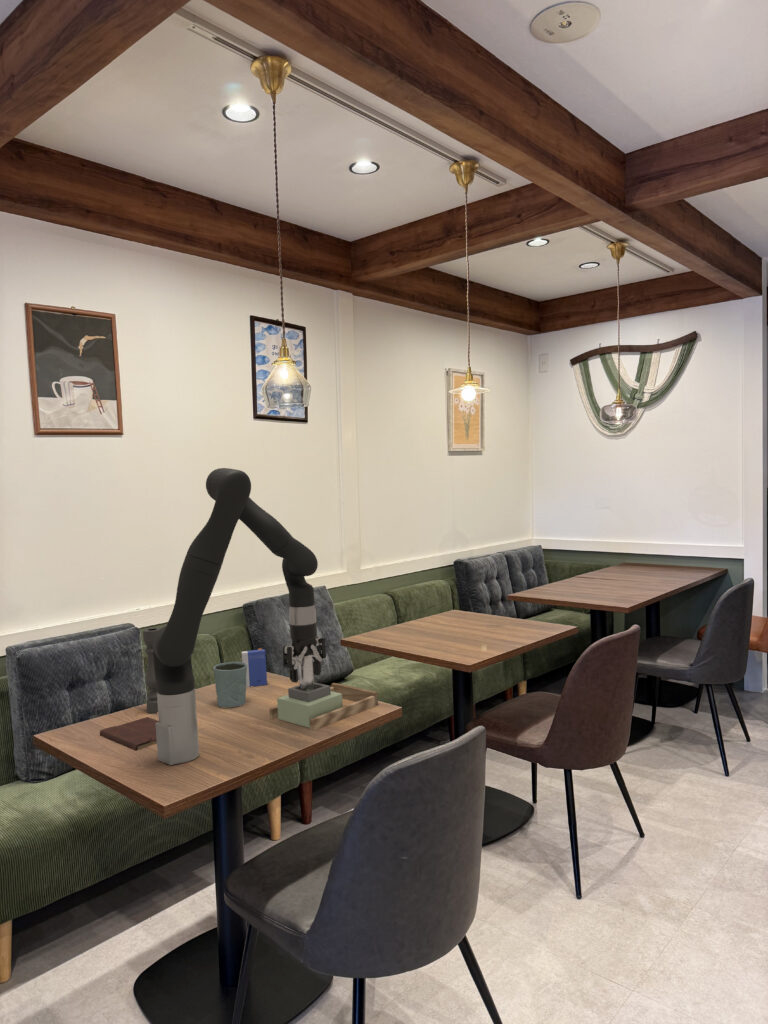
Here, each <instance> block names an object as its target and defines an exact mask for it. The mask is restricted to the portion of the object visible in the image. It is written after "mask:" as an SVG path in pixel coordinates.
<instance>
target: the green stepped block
mask: <svg viewBox="0 0 768 1024" xmlns="http://www.w3.org/2000/svg"><path fill="white" fill-rule="evenodd" d="M330 687H331V685H327V684H323V683H317V682H314V690H312V691H309V692H308V691H304V690H300V685H299V684H298V685H295V686H291V687H289V688H288V689H287V691H288V694H285V695H283V696H279V697H276V698H277V699H276V704H277V705H276V706H278V718H277V719H278V720H281V721H283V722H287V723H291V724H294V725H298V726H302V727H306V728H308V729H310V719H313V718H315V717H318V716H320V715H323V714H326V713H328V712H331V711H333V710H336V709H339V708H341V707H344V703H343V702H344V701H343V700H344V699H343V698H342V694H341V693H336V692H332V691H330Z"/></svg>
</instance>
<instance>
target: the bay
mask: <svg viewBox="0 0 768 1024" xmlns="http://www.w3.org/2000/svg"><path fill="white" fill-rule="evenodd" d="M330 691H332V692H336V693H341V694H342V700H348V701H352V703H350V704H347V705H343V707H341V708H339V709H336V710H333V711H331V712H328V713H326V714H323V715H320V716H318V717H315V718H313V719H310V728H309V730H310V731H311V732H315V731H317V730H319V729H322V728H325V727H326V726H327V727H328V726H329V725H331V724H334V723H336V722H339V721H342V720H343V719H346V718H348V717H351V716H354V715H357V714H358V713H359V714H360V713H361V712H363V711H366V710H369V709H371V708H374V707H376V706H378V705H379V697H378V691H374V690H371V689H365V688H361V687H360V688H359V687H356V686H351V685H345V684H341V683H336V682H332V683H331V685H330ZM268 710H269V719H270V720H274V719H278V706H277V705H276V706H273V707H271V708H269V709H268Z"/></svg>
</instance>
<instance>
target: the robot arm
mask: <svg viewBox="0 0 768 1024" xmlns="http://www.w3.org/2000/svg"><path fill="white" fill-rule="evenodd" d="M205 488H206V492H207V494H208V496H209V497H210V498H211V499H213V500H214V501H215V502H214V505H213V509H212V512H211V514H210V517H209V518H208V521H207V522H206V523H205V525H204V527H203V528H202V529H201V530H200V531H199V533H198V534H197V535H196V536H195V538H194V539H193V540H192V542H191V543H190V544H189V545H190V546H189V547H188V549H187V552H186V554H185V557H184V559H183V563H182V565H181V569H180V571H179V572H180V573H179V576H178V580H177V581H178V582H177V586H176V587H177V588H176V594H175V601H174V604H173V609H172V611H171V615H170V617H169V619H168V621H167V624H166V625H165V626H163V627H160V628H161V629H160V630H159V631H158V632H157V633H156V635H155V636H154V639H153V659H154V672H155V680H156V687H157V701H158V713H157V714H158V721H159V722H157V723H156V739H157V744H156V752H157V753H156V754H157V761H159V762H162V763H164V764H167V765H169V766H173V765H177V764H184V763H188V762H191V761H193V760H195V759H197V758H198V757H199V756H200V745H199V731H198V718H197V717H198V716H197V714H198V713H197V698H196V697H197V696H196V683H195V675H194V670H193V664H192V656H193V653H194V651H195V645H196V641H197V637H198V633H199V629H200V626H201V621H202V619H203V614H204V612H205V609H206V607H207V605H208V602H209V601H210V598H211V596H212V593H213V591H214V588H215V586H216V583H217V581H218V578H219V575H220V573H221V572H220V571H221V569H222V566H223V564H224V559H225V557H226V553H227V551H228V548H229V545H230V543H231V540H232V537H233V533H234V531H235V528H236V526H237V524H238V521H239V520H240V522H241V523H243V524H244V525H245V526H246V527H247V529H249V530H250V531H251V532H252V533H253V534H254V535H255V536H256V537H257V539H259V541H261V542H262V543H263V544H264V545H265V547H267V548H268V550H269V551H270V552H271V553H272V554H273V555H274V556H277V557H279V558H282V563H281V569H282V574H283V577H284V581H285V584H286V588H287V590H288V602H289V610H288V614H289V615H288V617H289V632H290V633H289V636H290V637H289V638H290V639H291V641H292V642H291V645H289V646H287V645H283V647H282V667H283V668H286V669H289V680H290V681H291V682H292V683H294V684H295V683H299V665H298V664H299V663H300V662H301V661H302V658H303V656H307V655H310V654H312V659H313V676H320V675H321V672H322V660H323V659H326V658H327V650H326V639H325V638H324V637H320V636H318V627H317V626H318V624H317V623H318V622H317V611H316V605H315V604H316V603H315V591H314V586H313V585H312V584H310V583H308V582H307V581H306V578H305V577H308V576H309V577H310V576H312V575H314V574H315V573H316V572H317V569H318V567H319V564H318V563H319V562H318V559H317V556H316V555H315V553H314V552H313V551H312V550H311V549H310V548H309V547H307V546H306V545H305V544H303V543H302V542H301V541H299V540H297V539H296V538H294V537H293V536H292V534H291V533H290V532H289V531H288V530H287V529H286V528H285V527H284V525H282V524H281V523H280V521H278V520H277V519H276V518H275V517H274V516H273V515H271V514H270V513H269V512H267V511H266V510H265V509H263V508H262V507H261V506H259V505H258V503H256V502H255V501H253V499H252V498H251V497H250V494H251V492H252V481H251V478H250V477H249V475H248V474H247V473H246V472H245V471H242V470H241V469H235V468H229V467H220V468H219V467H218V468H215V469H214V470H212V471H211V472H209V474H208V475H207V478H206V481H205Z"/></svg>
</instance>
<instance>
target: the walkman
mask: <svg viewBox="0 0 768 1024" xmlns="http://www.w3.org/2000/svg"><path fill="white" fill-rule="evenodd" d="M266 659H267V657H266V649H264V648H257V649H254V650H253V649H252V650H244V651H241V662H242V663H246V664H247V673H246V688H252V687H251V686H254V687H260V685H262V686H267V685H268V679H267V678H268V677H267V676H268V674H267V660H266Z"/></svg>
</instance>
